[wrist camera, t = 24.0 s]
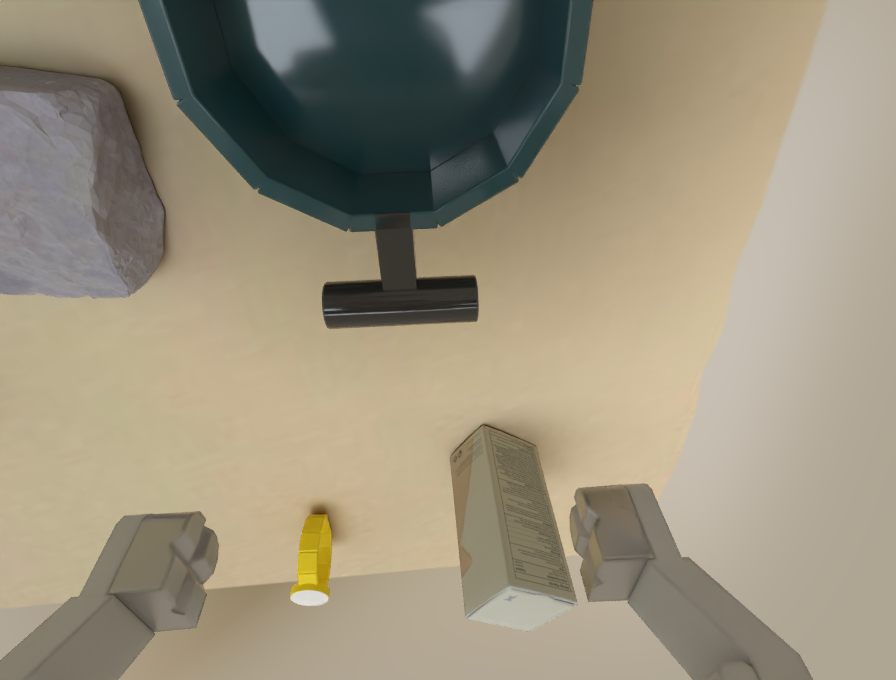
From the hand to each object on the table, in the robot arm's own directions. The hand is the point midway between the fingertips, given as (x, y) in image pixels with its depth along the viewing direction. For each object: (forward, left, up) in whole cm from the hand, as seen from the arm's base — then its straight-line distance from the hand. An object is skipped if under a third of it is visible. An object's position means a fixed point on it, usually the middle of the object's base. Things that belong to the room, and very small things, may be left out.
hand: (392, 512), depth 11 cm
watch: (+27, -9, -17) cm, 33 cm away
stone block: (-2, -17, -17) cm, 24 cm away
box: (+19, +5, -17) cm, 26 cm away
